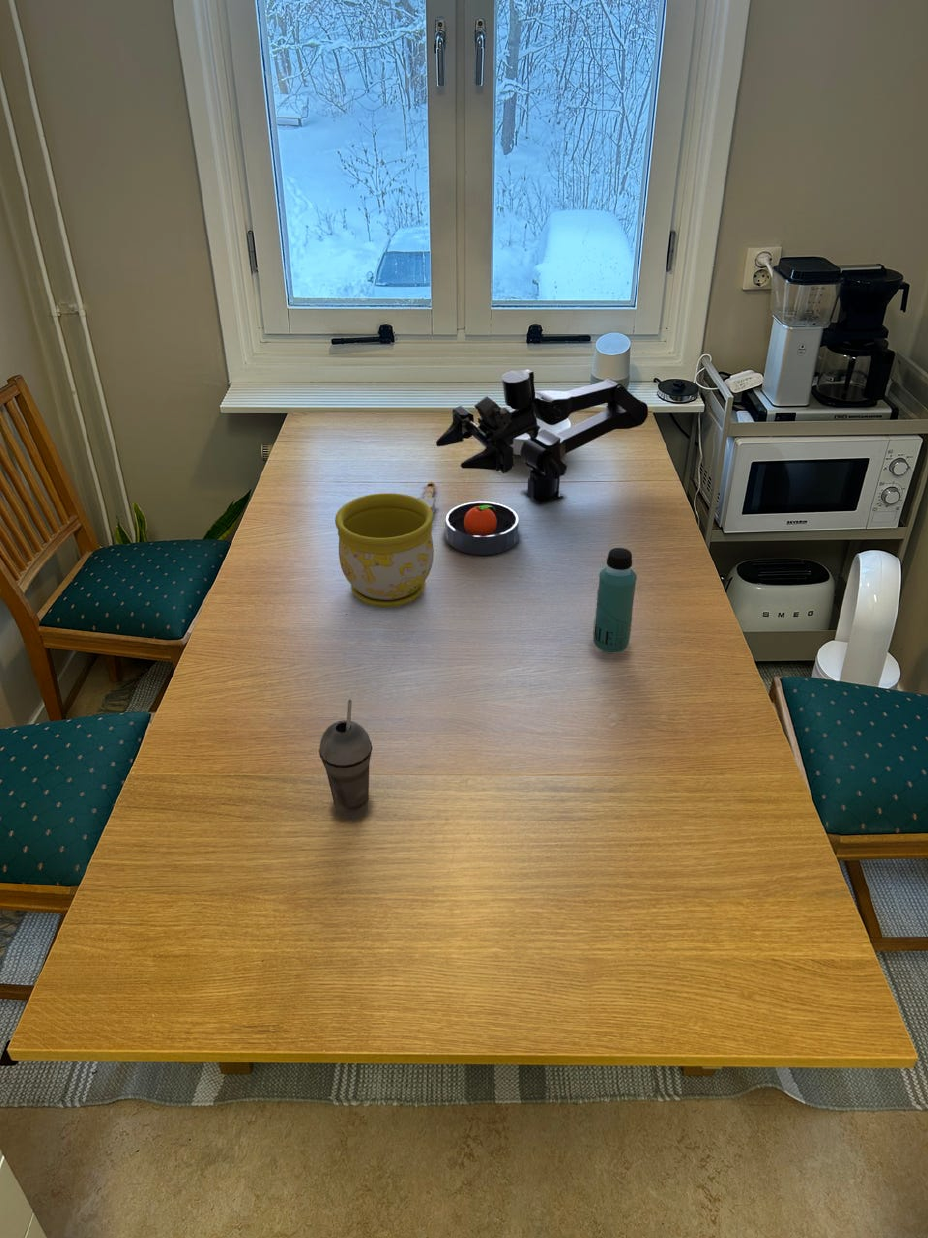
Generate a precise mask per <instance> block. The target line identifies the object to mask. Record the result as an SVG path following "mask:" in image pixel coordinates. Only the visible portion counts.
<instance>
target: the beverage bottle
mask: <svg viewBox="0 0 928 1238" xmlns="http://www.w3.org/2000/svg"><path fill="white" fill-rule="evenodd" d="M606 565H607V566H605V567H603V568H602V569H601V570H600V572H599V575H598V577H599V579H598V585H597V586H598V587H597V590H596V591H597V592H596V594H597V596H596V608H595V619H594V620H593V624H594V625H593V627H594V629H593V633H592V634H593V642H594V645H595V646H596V648H597V649H599V650H601V651H603V652H606V653H610V654H611V653H614V654H615V653H620V652H623V651H625V650H626V649H627V648H628V646H629V644H630V639H631V637H632V636H631V635H632V632H631V631H632V623H633V616H634V614H633V611H634V600H635V593H636V583H637V579H638V576H637V574H636V572H635V571H634V569H632V566H633V553H632V551H631V550H629V549H627V548H624V547H614V548H611V549H610V550H609V551H608V554H607V558H606Z"/></svg>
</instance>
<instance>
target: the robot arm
mask: <svg viewBox="0 0 928 1238" xmlns="http://www.w3.org/2000/svg"><path fill="white" fill-rule="evenodd" d="M534 380H535V372H534V371H532V370H529V369H528V368H527V369H525V370H512V371H511V370H510V371H507V372H505V373H503V375H502V376H501V384H502V391H503V397H504V398H503V399H504V403H505V405H506V406H508V407H509V408H512V410H510V411H508V410H507V408H505V407H503V408H502V407H501V406H499V404H497V403H496V402H495V401H494V400H493V399H491V398H490V397H489V396H488V395H485V396H483V398H481V399H480V400H479V401H478V402H477V403H476V404H475V405H474V408H475V409H476V410H477V412H478V415H479V416H478V417H477V423H478V424H479V425H476V423H475V419H474V414H473V413H472V412H470V411H469V410H468V409H467V408H466V407H464V406H462V405H459V406H457V407H454V408H453V409H452V422H451V424H450V426H449V427H448V428H447V430H446V431H445V432H443V434H442V435H441V436H440V437H439V438H438V439H437V440H436V441H435V445H436V447H444V446H449V445H453V444H458V443H463V442H464V439H465V440H468V439H470V438H472V437H473V438H475V439H476V440H477V441H478V442H479V443H480V444H481V446H483V447H484V449H483V450H482V451H480V452H479V453H476V454H475V455H473V456H471V457H469V458H467V459H466V460H464V461H463V462H461V463H460V468H461V469H466V470H485V471H486V470H487V471H495V472H501V473H502V474H506V473H508V472H510V471H511V470H513V468H514V466H515V456H514V455H515V454H514V448H513V447H512V446H511V445H512V444H513V439H515V438H517V437H519V436H521V435H523V434H525V433H527V434H528V435H529V437H530V438H529V439H527V440H526V441H525V442H524V443H523V446H522V448H521V451H520V455H519V456H520V458H521V460H522V461H523V462H524V465H525V467H527V468H529V469H530V470H529V477H528V478H527V489H525V490H524V494H526V495H527V496H528V497H530V498H531V499H533V500H534V502H535V501H536V502H537V503H538V504H545V503H547V502H551V501H554V500H557V499H561V498H563V497H564V495H563V493H561V492H560V483H561V482H560V480H561V479H560V478H561V477H562V476H565V474H566V472H567V469H568V465H567V464H566V463H565V462H563V460H564V458H565V456H566V455H567V454H569V453H570V452H572V451H574V450H576V449H579V448H580V447H582V446H585V445H586V444H589V443H590V442H592V441H594V440H596V439H598V438H600V437H602V436H605V435H606V434H609V433H610V432H612V431H615V430H631V429H634V428H637V427H640V426H642V425H643V424H644V423H645V421H646V420H647V418H648V416H649V406H648V404H647V403H646V402H644V401H643V400H641V399H638V398H637V397H636V396H634V395H633V394H632V393H631V392H630V391H629V390H628V389H627V388H626V387H625V386H624V385H623V384H622V383H619V382H617V381H615V380H614V379H612V378H608V379H607V378H606V379H604V380H602V381H599V382H596V383H593V384H589V385H584V386H581V387H577V388H573V389H570V390H565V391H564V390H563V391H560V390H553V389H552V390H551V389H549V390H547V389H546V390H538V391H536V390H535V381H534ZM605 404H607V405H606V406H605V409H604V410H603V411H599V412H598V413H596V414H594V415H592V416H591V417H588V418H586V419H584V420H582V421H580V422H578V423H576V424H574V425H571V427H570V428H567V429H565V430H563V431H561V432H559V433H557V434H552V433H551V432H549V431H547V430H545V429H544V430H541V431H539V429H540V426H538V425H537V419H539V420H541V421H543V422H545V423H546V424H548V425H555V424H557V423H559V422H562V421H564V420H566V419H567V418H568V419H569V417H570V415H571V414H574V413H575V412H579V411H583V410H586V409H590V408H594V407H597V406H601V405H605Z"/></svg>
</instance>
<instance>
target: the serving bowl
mask: <svg viewBox="0 0 928 1238" xmlns="http://www.w3.org/2000/svg"><path fill="white" fill-rule="evenodd" d="M506 409H507V410H508V411H510V410H512V408H511V407H508V408H506ZM537 425H538V426H540V429H539V431H541V430H544V429H545V430H547V431H549V432H551V433H552V434H557V433H559V432H561V431H563V430H565V429H567V428H570V427H572V421H570V419H569V417H568V418H567V419H566V420H564V421H562V422H559V423H557V424H555V425H548V424H546V423H545V422H543V421H541V420H539V419H537ZM529 438H530V437H529V435H528V434H527V433H525V434H523V435H521V436H519V437H517V438H515V439H513V444H512V445H511V446H512V447H513V448H514V455H517V456H521V455H520V451H521V448H522V446H523V443H524V442H525V441H526V440H527V439H529Z"/></svg>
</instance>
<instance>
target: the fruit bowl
mask: <svg viewBox="0 0 928 1238" xmlns="http://www.w3.org/2000/svg"><path fill="white" fill-rule="evenodd" d="M482 505H490V506H493V507H494V508H495V510H494V508H493V507H488V508H489V509H491V510H492V512H493V513H494V514H495V516H496V520H497V525H496V529H495V531H494V533H493V534H492V535H488V536H476V535H470V534H468V533H467V532H466V530H465V527H464V518H465V515H466V513H467V512H468V511H469V510H470V509H472V508H473V507H476V506H482ZM519 520H520V517H519V515H518V514H517V512H516V510H514V509H512V508H511V507H509V506H507V505H504V504H502V503H498V502H493V501H481V500H480V501H479V500H478V501H469V502H465V503H461V504H459V505H456V506H455V507H453V508H451V509H450V510H449V511H448V512H447V514H446V515H445V520H444V525H445V526H444V527H445V528H444V529H445V530H444V532H445V540H446V542H447V544H448V545H449V546H451V547H452V548H453V549H455V550H457V551H459V552H462V553H465V554H469V555H475V556H476V555H477V556H478V555H479V556H487V555H497V554H500V553H503V552H505V551H507V550H510V549H511V548H513V547H514V546H515V545H516V543H517V542H518V541H519V526H520V525H519V524H520V521H519Z"/></svg>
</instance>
